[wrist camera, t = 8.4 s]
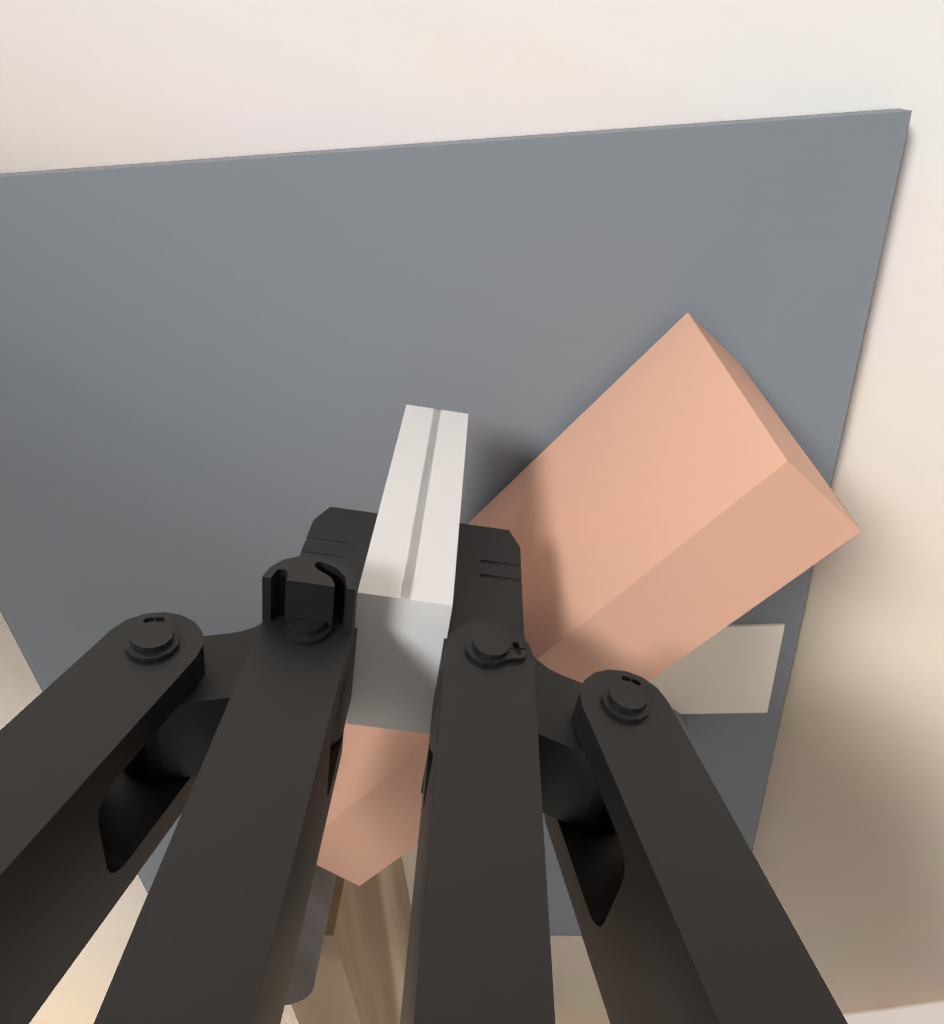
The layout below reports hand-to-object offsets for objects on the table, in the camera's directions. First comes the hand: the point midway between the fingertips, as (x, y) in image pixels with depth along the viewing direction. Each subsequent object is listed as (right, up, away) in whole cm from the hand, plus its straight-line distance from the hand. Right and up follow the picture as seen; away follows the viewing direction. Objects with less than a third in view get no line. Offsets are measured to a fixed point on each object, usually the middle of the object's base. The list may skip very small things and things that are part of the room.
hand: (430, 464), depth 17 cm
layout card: (-1, -6, +7) cm, 9 cm away
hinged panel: (+2, -1, +3) cm, 4 cm away
